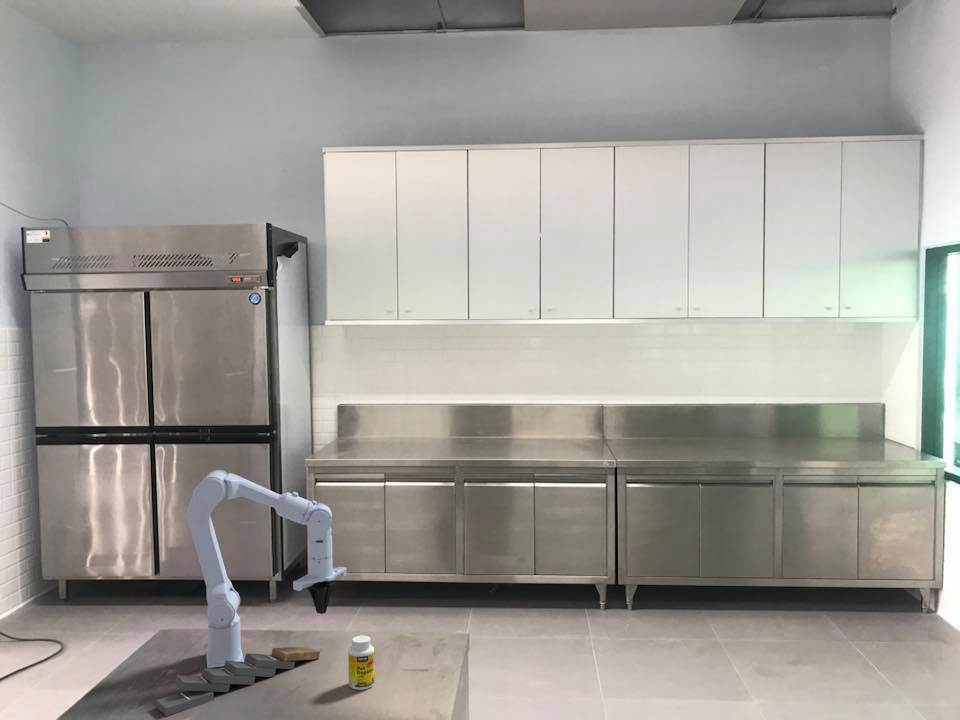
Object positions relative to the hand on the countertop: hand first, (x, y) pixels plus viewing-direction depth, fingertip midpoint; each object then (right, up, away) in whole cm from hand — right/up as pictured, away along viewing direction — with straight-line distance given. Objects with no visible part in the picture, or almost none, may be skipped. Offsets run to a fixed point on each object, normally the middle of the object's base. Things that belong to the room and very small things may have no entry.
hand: (321, 612), depth 187 cm
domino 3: (-13, -10, -14) cm, 22 cm away
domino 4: (-10, -10, -11) cm, 17 cm away
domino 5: (-6, -9, -7) cm, 13 cm away
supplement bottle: (+12, -11, -17) cm, 24 cm away
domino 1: (-17, -10, -18) cm, 27 cm away
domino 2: (-20, -10, -22) cm, 31 cm away
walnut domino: (-2, -9, -1) cm, 9 cm away
